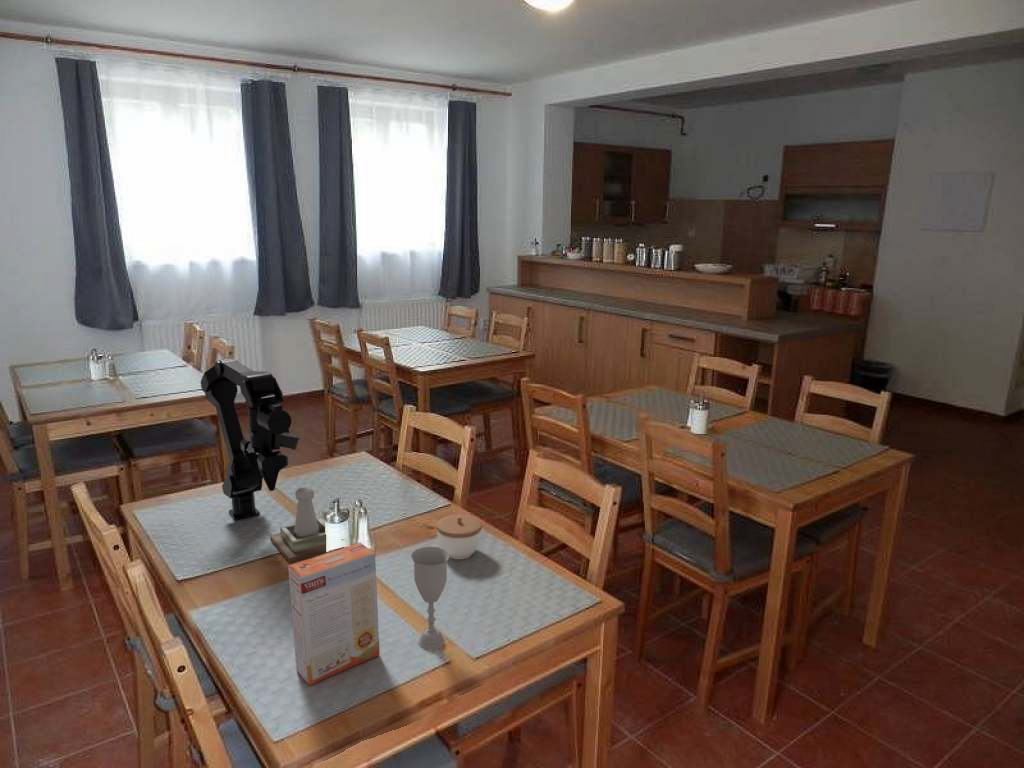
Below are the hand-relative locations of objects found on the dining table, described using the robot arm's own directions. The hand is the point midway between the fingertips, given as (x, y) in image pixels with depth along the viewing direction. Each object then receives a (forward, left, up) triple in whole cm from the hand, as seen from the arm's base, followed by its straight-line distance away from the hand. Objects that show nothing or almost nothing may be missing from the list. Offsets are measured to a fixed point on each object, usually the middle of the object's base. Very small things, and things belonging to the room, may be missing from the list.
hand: (266, 484), depth 172 cm
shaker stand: (+11, +6, -13) cm, 18 cm away
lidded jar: (+36, +34, -13) cm, 51 cm away
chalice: (+63, +11, -13) cm, 65 cm away
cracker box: (+59, -6, -13) cm, 61 cm away
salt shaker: (+11, +6, -12) cm, 17 cm away
